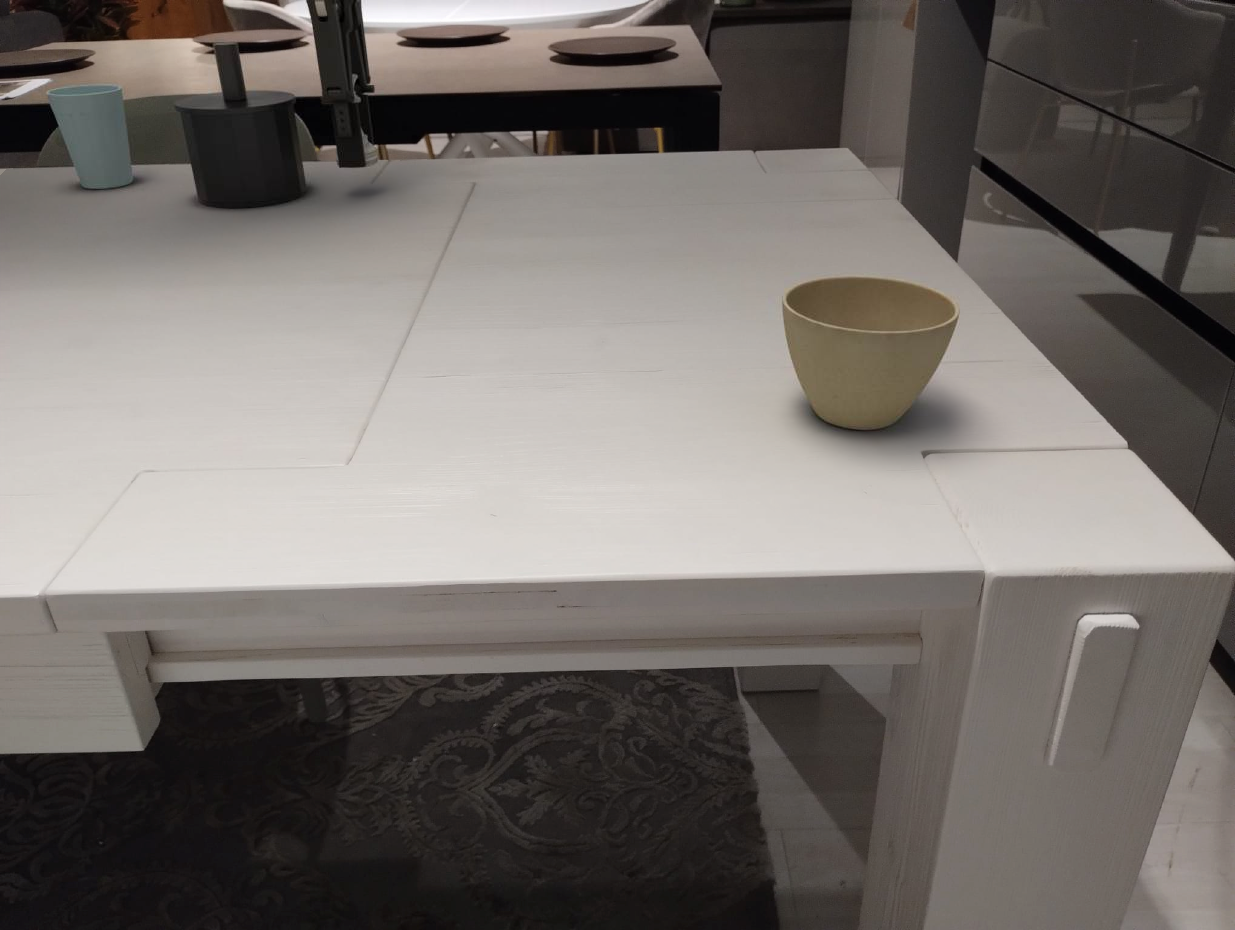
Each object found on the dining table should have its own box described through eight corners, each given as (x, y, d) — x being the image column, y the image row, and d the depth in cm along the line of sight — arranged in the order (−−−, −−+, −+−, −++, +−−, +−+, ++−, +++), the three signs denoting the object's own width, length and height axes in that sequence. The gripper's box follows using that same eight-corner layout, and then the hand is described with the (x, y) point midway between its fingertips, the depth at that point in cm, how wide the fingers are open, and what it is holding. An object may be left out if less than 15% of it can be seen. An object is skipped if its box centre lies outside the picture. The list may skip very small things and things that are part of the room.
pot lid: (158, 122, 103) (142, 51, 99) (200, 102, 113) (187, 37, 110) (278, 120, 103) (266, 49, 99) (309, 100, 113) (299, 36, 110)
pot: (182, 209, 107) (162, 115, 103) (218, 183, 117) (201, 97, 113) (290, 207, 107) (274, 113, 103) (317, 182, 117) (304, 95, 113)
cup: (58, 185, 118) (33, 90, 113) (123, 173, 123) (101, 82, 118) (89, 195, 113) (64, 97, 108) (154, 182, 118) (133, 88, 113)
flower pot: (946, 458, 57) (966, 338, 53) (767, 441, 59) (775, 325, 55) (938, 385, 65) (954, 278, 62) (781, 373, 67) (789, 269, 64)
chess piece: (350, 158, 113) (337, 62, 108) (385, 160, 112) (373, 64, 107) (329, 167, 109) (314, 68, 105) (364, 169, 108) (351, 70, 103)
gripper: (342, -82, 92) (376, 179, 103) (380, -83, 107) (405, 144, 118) (259, -81, 92) (302, 181, 103) (309, -82, 107) (341, 146, 118)
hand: (357, 161), depth 110 cm, fingers closed on chess piece, 4 cm apart
